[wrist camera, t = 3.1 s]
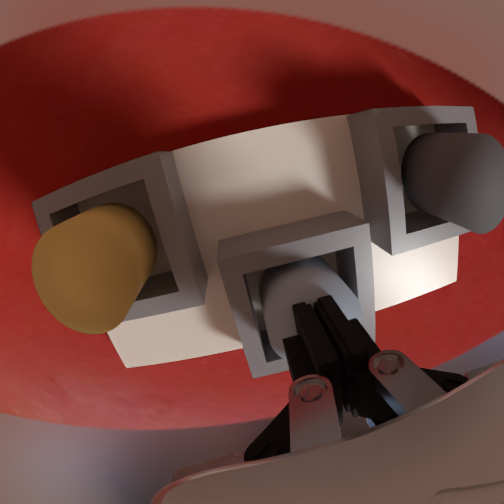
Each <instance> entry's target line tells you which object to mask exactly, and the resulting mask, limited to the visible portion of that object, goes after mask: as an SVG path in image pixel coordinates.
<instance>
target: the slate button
mask: <svg viewBox="0 0 504 504" xmlns="http://www.w3.org/2000/svg"><path fill="white" fill-rule="evenodd" d="M327 295H331V296H332V297H333V299H334V300H335V302H336V303H337V305H338V306H339V307H340V309H341V310H342V312H343V313H344V315H345V316H346V317H347V319H348V320H350V319H353V318H357V319H358V320H359V322H360V323H361V324H362V308H361V305H360V302H359V300H358V299H357V297H356V296H355V294H354V293H353V292H352V291H351V290H350V289H349V287H348V286H347V285H346V284H345V283H344V282H343V280H342V279H341V278H340V277H339V276H338V275H337V273H336V272H335V271H334V270H333V269H332V268H331V266H330V265H329V264H328V263H327V262H326V261H325V260H324V259H323V258H322V257H320V256H315V257H311V258H307V259H303V260H299V261H295V262H291V263H287V264H283V265H279V266H275V267H271V268H267V269H265V271H264V272H263V274H262V276H261V279H260V283H259V297H260V301H261V306H262V310H263V315H264V319H265V324H266V328H267V333H268V337H269V341H270V344H271V346H272V348H273V350H274V351H275V352H276V353H277V354H278V355H279V356H280V357H281V358H283V359H284V360H286V361H287V359H286V354H285V350H284V345H283V341H282V339H283V338H287V337H291V336H295V335H297V330H296V325H295V320H294V315H293V310H292V305H293V304H297V303H301V302H305V303H306V305H307V304H311V306H312V307H313V309H314V302H318V301H317V299H318V298H319V297H323V296H327ZM314 311H315V310H314Z"/></svg>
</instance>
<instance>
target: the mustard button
mask: <svg viewBox="0 0 504 504" xmlns="http://www.w3.org/2000/svg"><path fill="white" fill-rule="evenodd" d="M156 259H157V242H156V238H155V235H154V232H153V230H152V228H151V226H150V224H149V223H148V221H147V220H146V219H145V218H144V216H143V215H142V214H140V213H139V212H138V211H137V210H135V209H134V208H132V207H130V206H128V205H125V204H122V203H117V202H109V203H104V204H100V205H98V206H96V207H94V208H91V209H89V210H87V211H85V212H83V213H81V214H78V215H76V216H74V217H72V218H70V219H68V220H66V221H64V222H62V223H60V224H58V225H56V226H54V227H52V228H50V229H49V230H47V231H46V232H45V233H44V234H43V235H42V236H41V238H40V239H39V241H38V242H37V244H36V246H35V249H34V252H33V257H32V275H33V281H34V284H35V287H36V290H37V293H38V295H39V297H40V299H41V301H42V302H43V304H44V305H45V307H46V308H47V309H48V311H49V312H50V313H51V314H52V315H53V316H54V317H55V318H56V319H57V320H59V321H60V322H61V323H63V324H64V325H66V326H67V327H69V328H71V329H73V330H75V331H78V332H82V333H86V334H102V333H106V332H108V331H111V330H113V329H114V328H116V327H117V326H118V325H119V324H121V322H122V321H123V320H124V319H125V317H126V315H127V313H128V312H129V310H130V308H131V306H132V305H133V303H134V301H135V299H136V298H137V296H138V294H139V292H140V291H141V289H142V287H143V285H144V284H145V282H146V280H147V279H148V277H149V275H150V274H151V272H152V270H153V268H154V266H155V263H156Z"/></svg>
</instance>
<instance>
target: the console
mask: <svg viewBox="0 0 504 504" xmlns="http://www.w3.org/2000/svg"><path fill="white" fill-rule="evenodd" d="M424 133H478V132H477V125H476V119H475V114H474V108H473V107H467V106H409V107H389V108H375V109H369V110H365V111H362V112H358V113H354V114H348V115H340V116H332V117H324V118H317V119H311V120H304V121H298V122H292V123H287V124H281V125H276V126H271V127H266V128H261V129H256V130H251V131H247V132H242V133H238V134H233V135H229V136H225V137H221V138H217V139H213V140H209V141H205V142H202V143H198V144H194V145H191V146H187V147H184V148H180V149H177V150H173V151H170V152H166V151H158V152H155V153H151V154H148V155H145V156H142V157H139V158H137V159H134V160H131V161H128V162H125V163H122V164H120V165H117V166H114V167H112V168H109V169H106V170H104V171H101V172H99V173H96V174H94V175H91V176H89V177H86V178H84V179H81V180H79V181H77V182H74V183H72V184H70V185H67V186H65V187H63V188H61V189H58V190H56V191H54V192H52V193H50V194H47V195H45V196H43V197H41V198H39V199H37V200H35V201H33V202H31V203H32V207H33V210H34V214H35V217H36V220H37V223H38V227H39V230H40V233H41V236H42V235H43V234H44V233H45V232H46V231H47V230H49V229H50V228H52V227H54V226H56V225H58V224H60V223H62V222H64V221H66V220H68V219H70V218H72V217H74V216H76V215H78V214H81V213H83V212H85V211H87V210H89V209H91V208H94V207H96V206H98V205H100V204H104V203H109V202H117V203H122V204H125V205H128V206H130V207H132V208H134V209H135V210H137V211H138V212H139V213H140V214H142V215H143V216H144V218H145V219H146V220H147V221H148V223H149V224H150V226H151V228H152V230H153V232H154V235H155V238H156V242H157V259H156V263H155V266H154V268H153V270H152V272H151V274H150V275H149V277H148V279H147V280H146V282H145V284H144V285H143V287H142V289H141V291H140V292H139V294H138V296H137V298H136V299H135V301H134V303H133V305H132V306H131V308H130V310H129V312H128V313H127V315H126V317H125V319H124V320H123V321H122V322H121V324H119V325H118V326H117V327H116V328H114V329H113V330H111V331H108V332H107V333H108V335H109V337H110V339H111V341H112V343H113V345H114V347H115V348H116V350H117V352H118V354H119V356H120V358H121V359H122V361H123V363H124V365H125V366H126V368H130V367H138V366H145V365H152V364H159V363H166V362H172V361H178V360H184V359H190V358H195V357H201V356H206V355H211V354H216V353H221V352H226V351H231V350H236V349H240V348H243V349H244V352H245V355H246V358H247V361H248V364H249V367H250V370H251V373H252V376H253V378H257V377H262V376H266V375H270V374H275V373H279V372H283V371H287V370H289V366H288V363H287V361H286V360H284V359H283V358H281V357H280V356H279V355H278V354H277V353H276V352H275V351H274V350H273V348H272V346H271V344H270V341H269V337H268V333H267V328H266V324H265V319H264V315H263V310H262V306H261V301H260V297H259V283H260V279H261V276H262V274H263V272H264V271H265V269H267V268H271V267H275V266H279V265H283V264H287V263H291V262H295V261H299V260H303V259H307V258H311V257H315V256H320V257H322V258H323V259H324V260H325V261H326V262H327V263H328V264H329V265H330V266H331V268H332V269H333V270H334V271H335V272H336V273H337V275H338V276H339V277H340V278H341V279H342V280H343V282H344V283H345V284H346V285H347V286H348V287H349V289H350V290H351V291H352V292H353V293H354V294H355V296H356V297H357V299H358V300H359V302H360V305H361V308H362V326H363V327H364V329H365V330H366V331H367V333H368V334H369V335H370V337H371V338H372V339H373V341H374V342H375V311H378V310H381V309H384V308H387V307H390V306H393V305H395V304H398V303H401V302H404V301H407V300H409V299H412V298H415V297H417V296H420V295H423V294H425V293H428V292H430V291H433V290H435V289H438V288H440V287H443V286H445V285H448V284H450V283H453V282H455V281H456V279H457V265H458V241H459V235H461V234H464V233H467V232H470V230H468V229H465V228H463V227H461V226H458V225H456V224H453V223H451V222H448V221H446V220H443V219H441V218H438V217H436V216H433V215H431V214H428V213H425V212H423V211H420V210H419V209H417V208H416V207H415V206H414V205H413V204H412V203H411V202H410V201H409V199H408V197H407V195H406V193H405V191H404V188H403V184H402V178H401V166H402V160H403V156H404V153H405V151H406V149H407V147H408V145H409V144H410V142H411V141H412V140H413V139H414V138H416V137H417V136H419V135H421V134H424Z"/></svg>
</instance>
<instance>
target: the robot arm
mask: <svg viewBox="0 0 504 504" xmlns="http://www.w3.org/2000/svg"><path fill="white" fill-rule="evenodd" d="M317 301H318V302H314V309H313V307H312V306H311V304H307V305H306V303H305V302H301V303H297V304H293V305H292V310H293V315H294V320H295V325H296V330H297V335H295V336H291V337H287V338H283V339H282V341H283V345H284V350H285V354H286V359H287V363H288V366H289V370H290V374H291V377H292V381H293V383H292V385H291V386H290V388H289V403H288V404H287V405H286V406H285V408H284V409H283V410H282V411H281V412H280V413H279V414H278V415H277V417H276V418H275V419H274V420H273V421H272V422H271V423H270V424H269V425H268V426H267V428H266V429H265V430H264V431H263V432H262V433H261V434H260V435H259V436H258V437H257V438H256V439H255V440H254V441H253V442H252V443H251V444H250V445H249V447H248V448H247V449H246V451H245V452H243V453H241V454H238V455H236V454H235V453H232V454H229V455H227V456H224V457H220V458H218V459H214V460H211V461H207V462H204V463H200V464H197V465H193V466H190V467H186V468H183V469H181V470H178V471H177V472H176V473H175V474H174V475H173V477H172V479H171V484H169V485H167V486H165V487H164V488H162V489H161V490H160V491H159V492H158V493H156V495H155V496H154V497H153V499H152V501H151V503H150V504H504V359H503V360H499V361H497V362H494V363H492V364H489V365H486V366H483V367H481V368H477V369H475V370H472V371H469V372H466V373H465V376H462V375H460V374H456V373H450V372H443V371H437V370H430V369H424V368H419V367H418V366H417V365H416V364H415V363H413V362H412V361H411V360H410V359H409V358H408V357H407V356H406V355H404V354H403V353H401V352H399V351H396V350H384V351H380V349H379V348H378V346H377V345H376V344H375V342H374V341H373V339H372V338H371V337H370V335H369V334H368V333H367V331H366V330H365V329H364V327H363V326H362V324H361V323H360V322H359V320H358V319H357V318H353V319H350V320H348V319H347V317H346V316H345V315H344V313H343V312H342V310H341V309H340V307H339V306H338V305H337V303H336V302H335V300H334V299H333V297H332V296H331V295H327V296H323V297H319V298H318V299H317ZM314 310H315V311H314ZM343 406H344V408H345V411H346V412H349V411H351V413H352V415H353V417H357V416H361V417H365V418H366V421H367V423H368V425H369V426H370V428H369V429H366V430H364V431H361V432H358V433H355V434H353V435H350V436H347V437H344V438H342V436H341V431H340V425H341V423H342V422H343Z"/></svg>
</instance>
